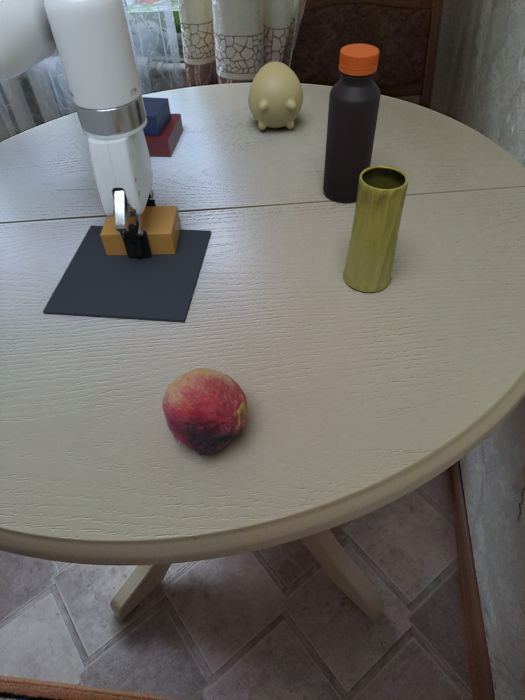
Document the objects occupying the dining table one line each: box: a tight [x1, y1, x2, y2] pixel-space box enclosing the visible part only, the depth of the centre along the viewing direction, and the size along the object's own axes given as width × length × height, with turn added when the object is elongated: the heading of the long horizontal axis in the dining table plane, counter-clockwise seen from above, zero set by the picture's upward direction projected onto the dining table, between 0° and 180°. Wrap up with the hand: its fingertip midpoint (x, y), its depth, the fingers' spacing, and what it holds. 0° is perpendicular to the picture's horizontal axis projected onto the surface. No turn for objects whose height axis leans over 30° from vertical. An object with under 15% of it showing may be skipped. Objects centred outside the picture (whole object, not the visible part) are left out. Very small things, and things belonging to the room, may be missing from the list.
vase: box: [342, 164, 409, 293], centre depth 59 cm, size 6×6×14 cm
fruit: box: [161, 367, 248, 456], centre depth 47 cm, size 8×8×8 cm
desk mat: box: [42, 225, 212, 323], centre depth 67 cm, size 18×18×1 cm
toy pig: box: [247, 61, 304, 131], centre depth 90 cm, size 10×12×11 cm
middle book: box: [142, 96, 172, 137], centre depth 87 cm, size 11×7×4 cm, turn 80°
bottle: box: [322, 43, 382, 204], centre depth 70 cm, size 7×7×20 cm
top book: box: [100, 205, 182, 256], centre depth 69 cm, size 10×7×4 cm
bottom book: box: [145, 113, 184, 158], centre depth 90 cm, size 14×10×3 cm
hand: (144, 239), depth 71 cm, fingers closed on top book, 6 cm apart
